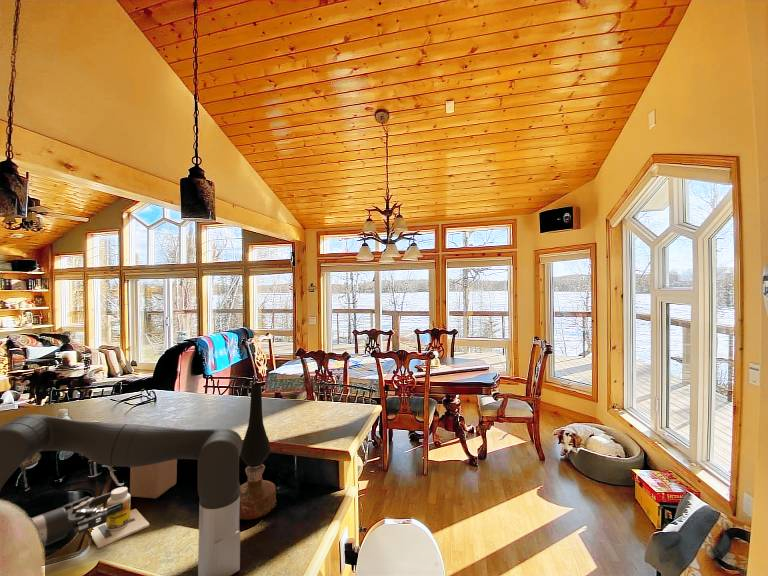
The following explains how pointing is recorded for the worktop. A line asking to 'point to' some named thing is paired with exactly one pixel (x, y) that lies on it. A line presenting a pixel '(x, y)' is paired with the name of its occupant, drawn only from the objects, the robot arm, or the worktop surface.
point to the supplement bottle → (123, 516)
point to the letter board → (106, 537)
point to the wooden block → (152, 479)
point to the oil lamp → (256, 463)
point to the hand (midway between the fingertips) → (116, 500)
